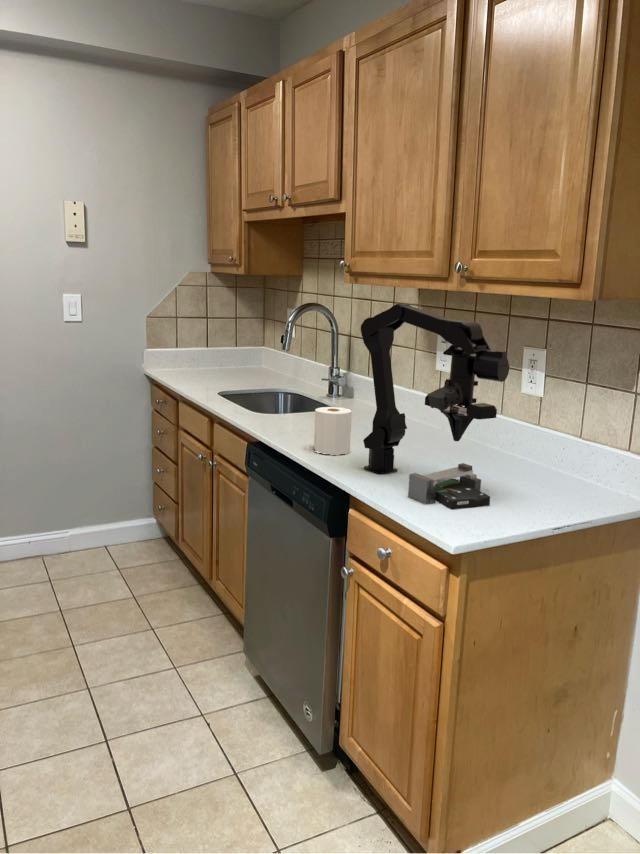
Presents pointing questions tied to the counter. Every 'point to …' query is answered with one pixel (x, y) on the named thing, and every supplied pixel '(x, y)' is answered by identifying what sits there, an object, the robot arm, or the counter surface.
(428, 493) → the hinge bracket
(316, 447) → the toilet paper
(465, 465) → the grey long flat bar
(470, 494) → the disk drive
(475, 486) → the lug
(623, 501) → the counter surface
